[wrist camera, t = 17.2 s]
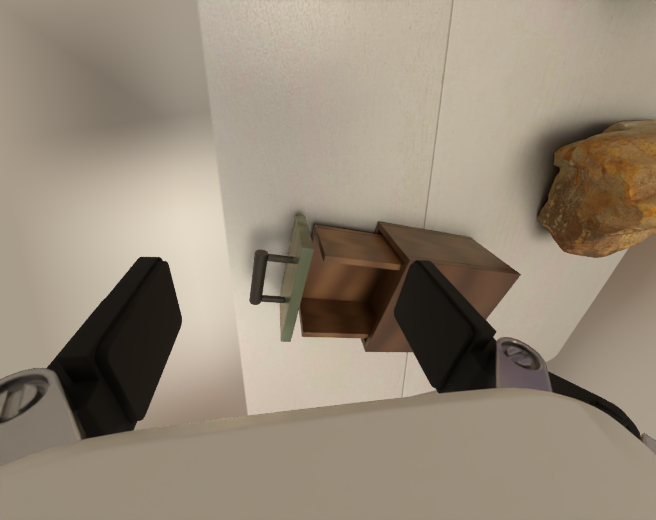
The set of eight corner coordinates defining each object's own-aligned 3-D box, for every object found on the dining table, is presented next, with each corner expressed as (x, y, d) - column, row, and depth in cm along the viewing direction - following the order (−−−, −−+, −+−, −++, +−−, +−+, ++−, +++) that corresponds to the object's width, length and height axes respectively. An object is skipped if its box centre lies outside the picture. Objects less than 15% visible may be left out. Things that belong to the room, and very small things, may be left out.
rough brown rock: (479, 232, 39) (569, 304, 28) (545, 109, 29) (728, 142, 18) (592, 227, 44) (708, 286, 33) (681, 120, 34) (894, 152, 23)
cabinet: (347, 302, 41) (365, 351, 33) (378, 221, 34) (410, 260, 26) (428, 307, 46) (460, 352, 38) (470, 237, 38) (521, 274, 31)
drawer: (249, 296, 36) (244, 340, 30) (260, 208, 29) (256, 241, 23) (368, 304, 41) (386, 343, 35) (400, 231, 35) (429, 263, 28)
